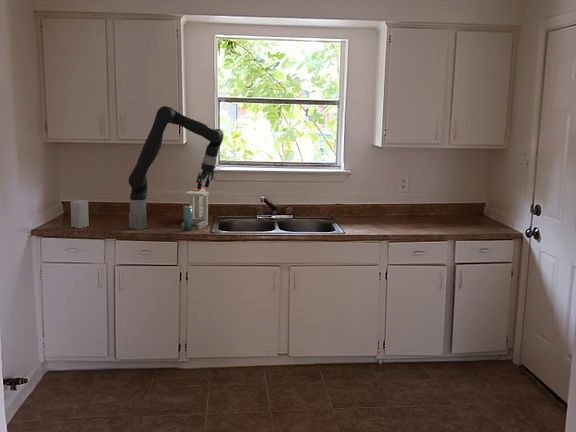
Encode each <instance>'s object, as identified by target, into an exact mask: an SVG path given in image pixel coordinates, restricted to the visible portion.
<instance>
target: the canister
mask: <svg viewBox="0 0 576 432" xmlns="http://www.w3.org/2000/svg"><path fill="white" fill-rule="evenodd" d="M183 222H184V228H183V231H185V232H190V231H193V225H192V206H189V205H184V206H183Z"/></svg>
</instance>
